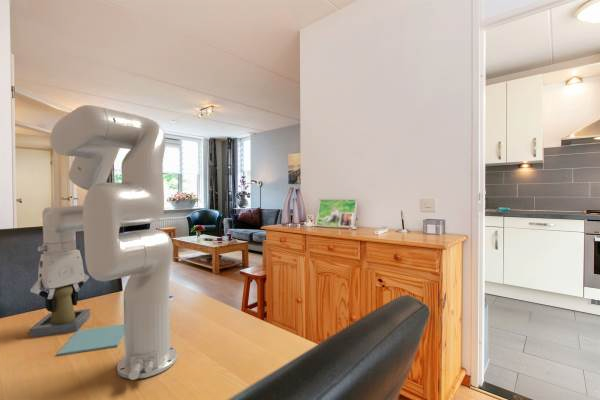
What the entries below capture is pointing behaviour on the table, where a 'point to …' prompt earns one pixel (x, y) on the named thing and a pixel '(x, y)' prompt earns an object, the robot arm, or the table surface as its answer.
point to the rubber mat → (93, 339)
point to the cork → (63, 305)
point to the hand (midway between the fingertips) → (62, 307)
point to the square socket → (59, 325)
